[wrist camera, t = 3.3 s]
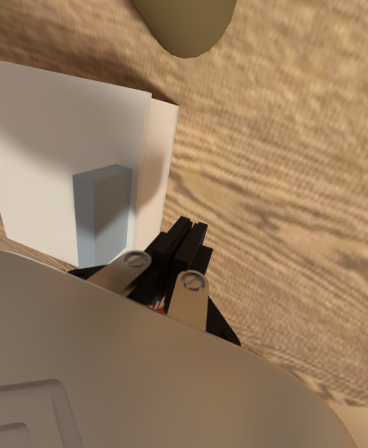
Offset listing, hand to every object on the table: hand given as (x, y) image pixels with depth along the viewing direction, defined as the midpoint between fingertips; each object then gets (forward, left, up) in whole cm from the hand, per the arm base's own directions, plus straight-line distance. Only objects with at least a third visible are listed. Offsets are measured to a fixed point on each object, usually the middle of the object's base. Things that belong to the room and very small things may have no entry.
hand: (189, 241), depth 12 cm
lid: (0, -11, -2) cm, 11 cm away
